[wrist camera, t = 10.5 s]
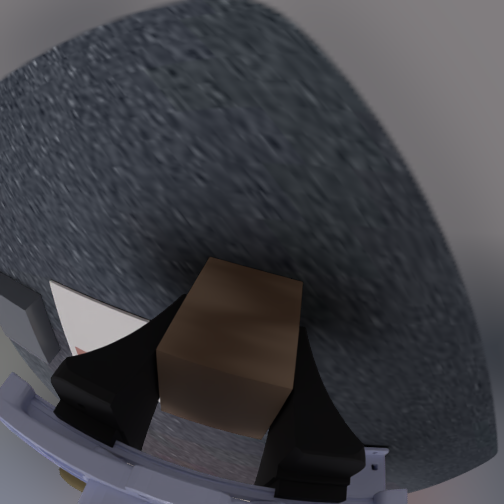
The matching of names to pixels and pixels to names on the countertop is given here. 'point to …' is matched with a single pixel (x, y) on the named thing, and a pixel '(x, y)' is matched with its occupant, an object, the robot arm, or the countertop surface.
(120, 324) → the letter
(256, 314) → the walnut block
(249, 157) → the countertop surface
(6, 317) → the metal block
